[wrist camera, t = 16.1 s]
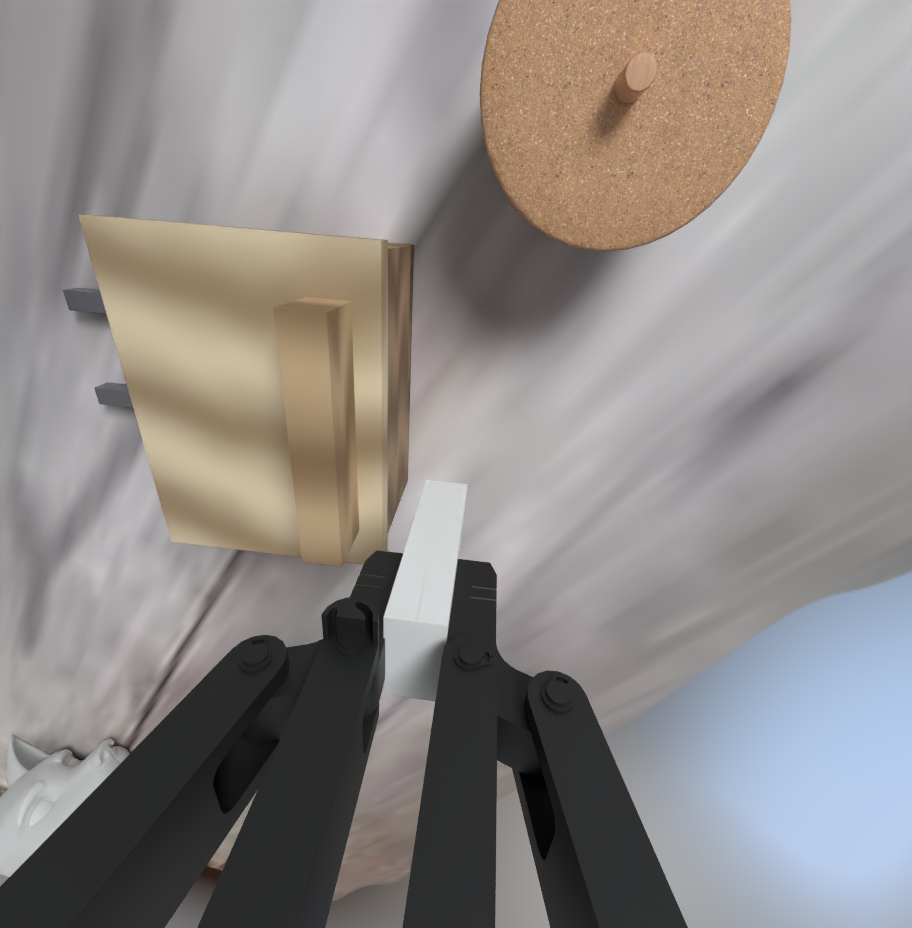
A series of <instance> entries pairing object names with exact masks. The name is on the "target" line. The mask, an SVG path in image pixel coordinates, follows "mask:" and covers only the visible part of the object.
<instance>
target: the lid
mask: <svg viewBox="0 0 912 928" xmlns="http://www.w3.org/2000/svg"><path fill="white" fill-rule="evenodd" d="M79 219H80V222H81V226H82V229H83V233H84V236H85V240H86V243H87V247H88V250H89V254H90V257H91V261H92V264H93V268H94V271H95V275H96V278H97V282H98V285H99V289H100V292H101V296H102V299H103V303H104V306H105V310H106V313H107V317H108V321H109V324H110V328H111V331H112V335H113V338H114V342H115V345H116V349H117V352H118V356H119V359H120V363H121V366H122V370H123V373H124V377H125V380H126V384H127V387H128V391H129V394H130V398H131V401H132V405H133V408H134V412H135V415H136V419H137V422H138V426H139V429H140V433H141V436H142V440H143V443H144V447H145V450H146V454H147V457H148V461H149V464H150V468H151V471H152V475H153V478H154V482H155V485H156V489H157V492H158V496H159V499H160V503H161V506H162V510H163V513H164V517H165V520H166V524H167V527H168V531H169V534H170V538H171V541H172V542H180V543H188V544H197V545H205V546H213V547H222V548H230V549H238V550H247V551H255V552H264V553H272V554H280V555H289V556H297V557H302V562H307V563H315V564H323V565H332V566H340V567H342V566H343V564H344V562H347V563H355V564H364V563H365V560H366V559H368V558H369V557H370V556H371V555H372V554H373V553H374V552H375V551H377V550H378V551H386V552H387V485H388V240H380V239H368V238H356V237H345V236H333V235H322V234H310V233H298V232H287V231H275V230H263V229H252V228H240V227H228V226H217V225H205V224H193V223H182V222H170V221H158V220H147V219H135V218H124V217H112V216H99V215H79Z"/></svg>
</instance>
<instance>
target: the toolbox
mask: <svg viewBox="0 0 912 928" xmlns="http://www.w3.org/2000/svg"><path fill="white" fill-rule="evenodd" d="M413 259H414V245H407V244H395V243H388V485H387V534H388V531H389V529H390V526H391V523H392V521H393V518H394V515H395V513H396V510H397V508H398V505H399V502H400V500H401V497H402V494H403V492H404V489H405V486H406V484H407V481H408V449H409V411H410V373H411V335H412V297H413Z"/></svg>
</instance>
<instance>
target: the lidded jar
mask: <svg viewBox="0 0 912 928" xmlns="http://www.w3.org/2000/svg"><path fill="white" fill-rule="evenodd" d="M790 30H791V10H790V0H499V2H498V4H497V8H496V11H495V14H494V17H493V20H492V23H491V26H490V29H489V32H488V36H487V41H486V46H485V51H484V57H483V62H482V71H481V84H480V107H481V124H482V129H483V135H484V140H485V146H486V150H487V153H488V156H489V159H490V162H491V166H492V169H493V172H494V174H495V176H496V178H497V180H498V182H499V184H500V186H501V188H502V190H503V192H504V194H505V195H506V197H507V198H508V199H509V201H510V202H511V204H512V205H513V206H514V208H515V209H516V211H517V212H518V213H519V214H520V215H521V216H522V217H523V218H524V219H525V220H526V221H527V222H528V223H529V224H530V225H532V226H533V227H535V228H536V229H537V230H539V231H540V232H542V233H543V234H544V235H546V236H548V237H550V238H552V239H554V240H556V241H558V242H560V243H563V244H565V245H568V246H572V247H576V248H580V249H584V250H596V251H614V250H625V249H630V248H634V247H638V246H642V245H645V244H649V243H651V242H653V241H656V240H658V239H660V238H663V237H665V236H667V235H669V234H671V233H673V232H674V231H676V230H678V229H679V228H681V227H683V226H684V225H686V224H688V223H689V222H691V221H692V220H693V219H694V218H696V217H697V216H698V215H699V214H701V213H702V212H703V211H705V210H706V209H707V208H708V207H709V206H710V205H711V204H712V203H713V202H714V201H715V200H716V199H717V198H718V197H719V196H720V195H721V194H722V193H723V192H724V191H725V190H726V189H727V188H728V187H729V186H730V184H731V183H732V182H733V181H734V179H735V178H736V177H737V175H738V174H739V173H740V172H741V170H742V169H743V168H744V166H745V165H746V163H747V162H748V160H749V158H750V157H751V155H752V153H753V152H754V150H755V149H756V147H757V145H758V144H759V142H760V140H761V138H762V136H763V134H764V132H765V129H766V127H767V125H768V123H769V121H770V118H771V116H772V114H773V112H774V109H775V106H776V103H777V99H778V96H779V93H780V90H781V87H782V84H783V80H784V75H785V70H786V65H787V60H788V54H789V46H790Z"/></svg>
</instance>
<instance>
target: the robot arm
mask: <svg viewBox="0 0 912 928" xmlns="http://www.w3.org/2000/svg"><path fill="white" fill-rule="evenodd" d="M466 493H467V484H460V483H451V482H442V481H433V480H426V482H425V486H424V489H423V492H422V495H421V498H420V502H419V505H418V508H417V511H416V515H415V518H414V521H413V524H412V527H411V531H410V534H409V537H408V540H407V544H406V547H405V550H404V553H394V552H386V551H378V550H377V551H375V552H374V553H373V554H372V555H371V556H370V557H369V558H368V559H366V560H365V563H364V565H363V568H362V570H361V572H360V575H359V577H358V579H357V582H356V585H355V586H354V589H353V591H352V594H351V596H350V598H344V599H341V600H338V601H336V602H334V603H332V604H331V605H329V606H328V607H327V608H326V609H325V611H324V612H323V613H322V626H323V637H324V639H322V640H319V641H317V642H315V643H311V644H307V645H300V646H294V647H287V648H286V647H285V645H284V643H283V641H281V640H280V639H278V638H277V637H275V636H269V635H261V636H254V637H251V638H249V639H247V640H244V641H242V642H241V643H239V644H238V645H237V646H236V647H234V648H233V649H232V650H231V651H230V652H229V653H228V654H227V655H226V656H225V657H224V658H223V659H222V660H221V661H220V662H219V663H218V664H217V665H216V666H215V667H214V668H213V669H212V670H211V671H210V672H209V673H208V674H207V675H206V676H205V677H204V678H203V680H202V681H201V682H200V683H199V684H198V685H197V686H196V687H195V688H194V689H193V690H192V691H191V692H190V693H189V694H188V695H187V696H186V697H185V698H184V699H183V700H182V701H181V702H180V703H179V704H178V705H177V706H176V707H175V708H174V709H173V710H172V711H171V712H170V713H169V714H168V715H167V716H166V717H165V718H164V719H163V720H162V721H161V723H160V724H159V725H158V726H157V727H156V728H155V729H154V730H153V731H152V732H151V733H150V734H149V735H148V736H147V737H146V738H145V739H144V740H143V741H142V742H141V743H140V744H139V745H138V746H137V747H136V748H135V749H134V750H133V751H132V752H131V753H130V754H129V755H128V756H127V757H126V758H125V759H124V760H123V761H122V762H121V763H120V765H119V766H118V767H117V768H116V769H115V770H114V771H113V772H112V773H111V774H110V775H109V776H108V777H107V778H106V779H105V780H104V781H103V782H102V783H101V784H100V785H99V786H98V787H97V788H96V789H95V790H94V791H93V792H92V793H91V794H90V795H89V796H88V797H87V798H86V799H85V800H84V801H83V802H82V803H81V804H80V805H79V807H78V808H77V809H76V810H75V811H74V812H73V813H72V814H71V815H70V816H69V817H68V818H67V819H66V820H65V821H64V822H63V823H62V824H61V825H60V826H59V827H58V828H57V829H56V830H55V831H54V832H53V833H52V834H51V835H50V836H49V837H48V838H47V839H46V840H45V841H44V842H43V843H42V844H41V845H40V846H39V847H38V849H37V850H36V851H35V852H34V853H33V854H32V855H31V856H30V857H29V858H28V859H27V860H26V861H25V862H24V863H23V864H22V865H21V866H20V867H19V868H18V869H17V870H16V871H15V872H14V873H13V874H12V875H11V876H10V877H9V878H8V879H7V880H6V881H5V882H4V883H3V885H1V886H0V928H165V926H166V925H167V923H168V922H169V920H170V919H171V917H172V916H173V914H174V913H175V911H176V910H177V908H178V907H179V905H180V904H181V902H182V901H183V900H184V898H185V897H186V895H187V893H188V892H189V890H190V889H191V888H192V886H193V885H194V883H195V882H196V880H197V879H198V877H199V876H200V874H201V873H202V871H203V870H204V868H205V867H206V865H207V864H208V862H209V861H210V860H211V858H212V857H213V855H214V854H215V852H216V851H217V849H218V848H219V846H220V845H221V843H222V842H223V840H224V839H225V837H226V836H227V834H228V833H229V831H230V830H231V828H232V827H233V825H234V824H235V823H236V821H237V820H238V818H239V817H240V815H241V814H242V812H243V811H244V809H245V808H246V806H247V805H248V803H249V802H250V800H251V799H252V797H253V796H254V794H255V793H256V791H257V790H258V791H257V793H256V795H255V798H254V800H253V802H252V805H251V807H250V809H249V811H248V814H247V816H246V818H245V820H244V823H243V825H242V827H241V830H240V832H239V834H238V836H237V839H236V841H235V843H234V846H233V848H232V850H231V852H230V855H229V857H228V859H227V862H226V864H225V866H224V868H223V871H222V873H221V875H220V878H219V880H218V882H217V884H216V887H215V889H214V891H213V893H212V896H211V898H210V900H209V903H208V905H207V907H206V909H205V912H204V914H203V916H202V919H201V921H200V923H199V925H198V928H325V926H326V922H327V918H328V914H329V910H330V906H331V902H332V898H333V894H334V890H335V886H336V882H337V879H338V875H339V871H340V867H341V863H342V859H343V855H344V851H345V847H346V843H347V839H348V835H349V831H350V827H351V823H352V819H353V815H354V811H355V808H356V804H357V800H358V796H359V792H360V788H361V784H362V780H363V776H364V772H365V768H366V764H367V760H368V756H369V752H370V748H371V744H372V740H373V737H374V733H375V729H376V725H377V721H378V717H379V700H380V696H381V692H382V688H383V685H384V694H386V695H394V696H401V697H408V698H416V699H423V700H431V701H435V708H434V715H433V722H432V728H431V735H430V742H429V749H428V756H427V763H426V770H425V777H424V784H423V790H422V797H421V804H420V811H419V818H418V825H417V832H416V839H415V846H414V852H413V859H412V866H411V873H410V880H409V887H408V894H407V901H406V908H405V914H404V921H403V928H495V886H496V883H495V882H496V796H497V760H498V761H500V762H502V763H503V764H505V765H507V766H509V767H511V768H512V770H513V774H514V778H515V782H516V786H517V791H518V794H519V799H520V803H521V807H522V811H523V816H524V820H525V824H526V828H527V832H528V836H529V841H530V845H531V849H532V853H533V857H534V861H535V866H536V869H537V874H538V878H539V882H540V886H541V891H542V895H543V899H544V903H545V907H546V911H547V916H548V919H549V923H550V928H688V927H687V925H686V923H685V920H684V918H683V916H682V913H681V911H680V909H679V907H678V904H677V902H676V900H675V897H674V895H673V893H672V891H671V888H670V886H669V884H668V881H667V879H666V877H665V875H664V872H663V870H662V868H661V865H660V863H659V861H658V858H657V856H656V854H655V852H654V850H653V847H652V845H651V842H650V840H649V838H648V836H647V833H646V831H645V829H644V826H643V824H642V822H641V819H640V818H639V815H638V813H637V810H636V808H635V806H634V803H633V801H632V799H631V797H630V794H629V792H628V790H627V787H626V785H625V783H624V781H623V778H622V776H621V774H620V771H619V769H618V767H617V765H616V762H615V760H614V758H613V755H612V753H611V751H610V749H609V746H608V744H607V742H606V740H605V737H604V735H603V732H602V730H601V728H600V726H599V723H598V721H597V719H596V716H595V714H594V712H593V710H592V707H591V705H590V703H589V700H588V698H587V696H586V694H585V692H584V691H583V689H582V688H581V686H580V685H579V684H578V683H577V682H576V681H575V680H574V679H572V678H571V677H570V676H568V675H565V674H563V673H561V672H557V671H544V672H541V673H538V674H537V675H536V676H534V677H531V676H529V675H527V674H525V673H522V672H520V671H518V670H516V669H514V668H513V667H511V666H510V665H509V664H508V663H506V662H505V661H504V660H503V658H502V657H501V656H500V654H499V652H498V649H497V646H496V588H497V575H496V573H495V571H494V569H493V567H492V565H491V564H490V563H488V562H479V561H471V560H462V559H460V551H461V543H462V533H463V523H464V513H465V503H466ZM258 788H259V789H258Z"/></svg>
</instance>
